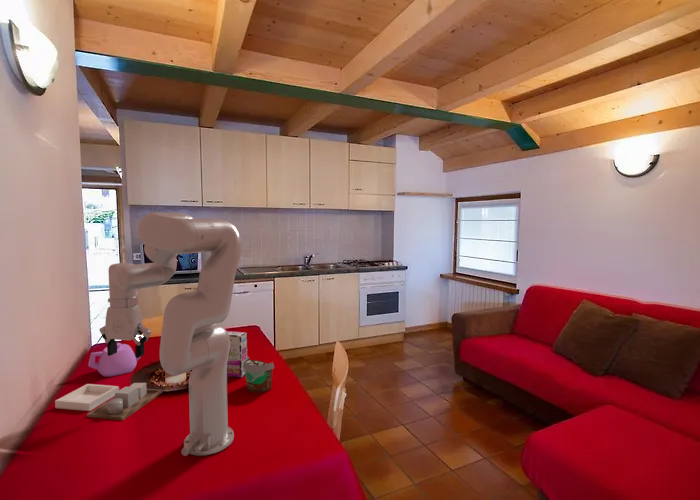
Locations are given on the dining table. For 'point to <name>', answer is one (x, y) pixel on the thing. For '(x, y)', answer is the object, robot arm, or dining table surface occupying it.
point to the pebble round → (115, 406)
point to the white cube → (140, 388)
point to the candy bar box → (237, 354)
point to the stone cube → (128, 396)
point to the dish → (86, 397)
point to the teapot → (114, 361)
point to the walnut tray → (102, 410)
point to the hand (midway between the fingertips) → (126, 355)
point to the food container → (258, 375)
